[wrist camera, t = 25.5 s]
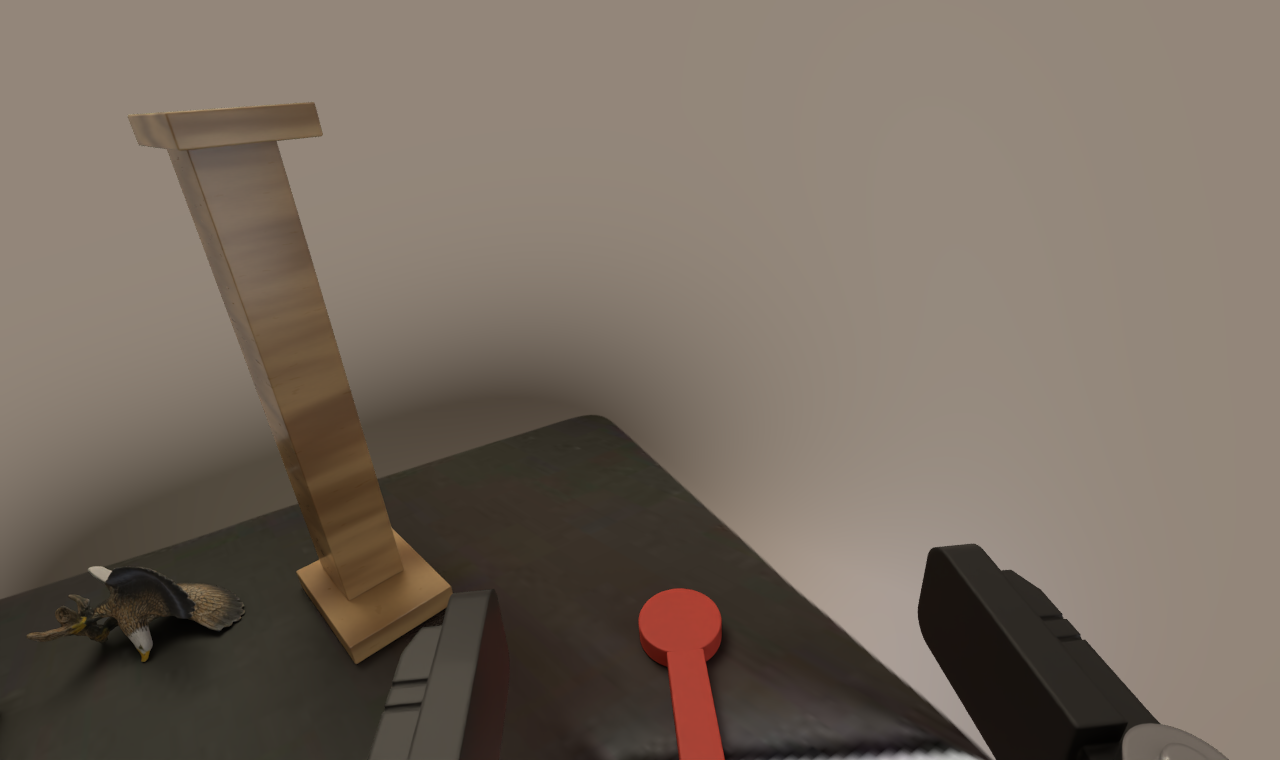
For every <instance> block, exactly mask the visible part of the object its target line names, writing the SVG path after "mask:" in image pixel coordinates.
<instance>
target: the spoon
mask: <svg viewBox="0 0 1280 760" xmlns="http://www.w3.org/2000/svg"><path fill="white" fill-rule="evenodd" d="M639 634H640V641H641V645H642V647H643V649H644V651H645V652H646V653H647V655H648V656H649V657H650V658H651V659H653V660H654V661H655V662H657V663H659V664H661V665H663V666H666V667H667V668H668V676H669V684H670V692H671V699H672V707H673V715H674V723H675V731H676V738H677V746H678V754H679V760H725V758H724V753H723V747H722V742H721V737H720V732H719V727H718V722H717V717H716V712H715V706H714V701H713V696H712V691H711V686H710V681H709V676H708V671H707V665H706V661H708V660H709V659H710V658H711V657H712V656H713V655H714V654H715V653H716V651H717V650H718V648H719V646H720V643H721V637H722V628H721V615H720V612H719V610H718V608H717V606H716V605H715V603H714V602H713V601H712V600H711V599H710V598H708V597H707V596H705V595H704V594H702V593H700V592H697V591H694V590H690V589H670V590H666V591H663V592H660V593H658V594H656V595H655V596H653V597H652V598H650V599H649V600H648V601H647V602H646V603H645V605H644V606H643V608H642V610H641V612H640V615H639Z"/></svg>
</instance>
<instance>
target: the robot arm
mask: <svg viewBox="0 0 1280 760" xmlns="http://www.w3.org/2000/svg"><path fill="white" fill-rule="evenodd" d="M918 620H919V625H920V629H921V632H922V635H923V638H924V640H925V642H926V644H927V645H928V647H929V649H930V650H931V652H932V654H933V655H934V657H935V659H936V660H937V662H938V663H939V665H940V667H941V669H942V670H943V672H944V674H945V675H946V677H947V679H948V680H949V682H950V684H951V685H952V687H953V689H954V690H955V692H956V694H957V695H958V697H959V698H960V700H961V702H962V703H963V705H964V707H965V709H966V710H967V712H968V714H969V715H970V717H971V718H972V720H973V722H974V724H975V725H976V727H977V729H978V730H979V732H980V733H981V735H982V737H983V739H984V740H985V742H986V744H987V745H988V747H989V748H990V750H991V752H992V754H993V755H994V757H995V758H996V760H1229V759H1227V758H1226V757H1225V756H1224V755H1223V754H1222V753H1220V752H1219V751H1218V750H1217V749H1215V748H1214V747H1212V746H1211V745H1209V744H1208V743H1206V742H1205V741H1203V740H1201V739H1199V738H1197V737H1196V736H1194V735H1192V734H1190V733H1187V732H1185V731H1183V730H1180V729H1177V728H1174V727H1171V726H1166V725H1162V724H1160V723H1159V722H1158V721H1157V720H1156V719H1155V718H1154V717H1153V716H1152V715H1151V713H1150V712H1149V711H1148V710H1147V709H1146V708H1145V707H1144V706H1143V704H1142V703H1141V702H1140V701H1139V700H1138V699H1137V698H1136V697H1135V695H1134V694H1133V693H1132V692H1131V691H1130V690H1129V689H1128V688H1127V686H1126V685H1125V684H1124V683H1123V682H1122V681H1121V680H1120V679H1119V677H1117V675H1116V674H1115V673H1114V672H1113V671H1112V670H1111V668H1110V667H1109V666H1108V665H1107V664H1106V663H1105V662H1104V660H1103V659H1102V658H1101V657H1100V656H1099V655H1098V654H1097V653H1096V651H1095V650H1094V649H1093V648H1092V647H1091V646H1090V645H1089V644H1088V642H1087V641H1086V640H1082V639H1081V637H1080V634H1079V632H1078V631H1077V630H1076V629H1075V628H1074V627H1073V626H1072V625H1071V623H1070V622H1069V621H1068V620H1067V619H1063V617H1062V613H1061V612H1060V611H1059V610H1058V609H1057V608H1056V607H1055V605H1054V604H1053V603H1052V602H1051V601H1050V600H1049V599H1048V597H1047V596H1046V595H1045V594H1044V593H1043V592H1042V591H1041V590H1040V589H1039V588H1037V587H1036V586H1034V585H1033V584H1031V583H1030V582H1028V581H1027V580H1025V579H1024V578H1022V577H1021V576H1019V575H1018V574H1017V573H1015V572H1014V571H1012V570H1003V571H1001V570H1000V569H999V568H998V567H997V565H996V564H995V563H994V562H993V561H992V560H991V558H990V557H989V556H988V555H987V554H986V552H985V551H984V550H983V549H982V548H981V547H979V546H978V545H976V544H965V545H955V546H945V547H935V548H932V549H931V550H930V552H929V553H928V557H927V563H926V568H925V573H924V578H923V583H922V588H921V594H920V599H919V604H918ZM509 673H510V667H509V652H508V646H507V641H506V636H505V631H504V626H503V622H502V617H501V612H500V607H499V603H498V598H497V594H496V592H495V590H494V589H492V590H482V591H471V592H461V593H453V594H452V595H451V596H450V598H449V601H448V605H447V609H446V612H445V616H444V620H443V624H442V625H441V626H431V627H421V629H420V630H419V631H418V633H417V634H416V635H415V636H414V638H413V639H412V640H411V642H410V643H409V644H408V646H407V647H406V648H405V649H404V651H403V652H402V653H401V656H400V659H399V663H398V666H397V669H396V672H395V675H394V678H393V681H392V688H390V691H389V694H388V697H387V700H386V703H385V711H384V712H382V716H381V719H380V722H379V725H378V728H377V731H376V734H375V737H374V740H373V744H372V747H371V750H370V753H369V756H368V759H367V760H499V758H500V750H501V743H502V735H503V727H504V719H505V711H506V703H507V696H508V688H509Z"/></svg>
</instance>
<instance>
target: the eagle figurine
mask: <svg viewBox="0 0 1280 760" xmlns="http://www.w3.org/2000/svg"><path fill="white" fill-rule="evenodd" d="M88 571H89V572H90V573H91V574H92V575H93V576H94V577H95V578H97V579H98V580H99V581H101V582H102V583H104V584H105V585H106V587H107V588H108V589H109V591H110V594H111V595H110V597H109V599H107V600H105V601H104V602H102V603H100V604H99V605H97V606H96V607H94V608H91V607H89V603H90V601H89V599H85V598H82V597H80V596H78V595H68V597H69V598H70V599H72V600H74V601H75V602H76V603H77V606H78V614H77V613H76V612H75V611H73V610H71V609H69V608H67V607H66V606H62V607H61V608H59V609H57V610H56V612H55V616H56V619H57V621H58V622H59V623H61V625H62V626H61V627H60V628H57V629H54V630H51V631H46V632H42V633H41V632H35V633H30V634H28V635H27V638H28V639H31V640H35V641H40V642H44V641H51V640H54V639H57V638H60V637H62V636H68V635H69V636H71V635H77V636H79V635H80V636H88V637H89V638H90V639H91V640H95V641H99V642H100V643H103V642H105V641H107V640H108V638H107V636H108V634H109V632H110V631H111V630H112V629H114V628H115V627H116V626H118V625H119V626H120V628H121V629H122V631H123V633H124V634H125V635H126V636H127V637H128V638H129V639H130V640H131V641H132V643H133V644H134V645H135V647H136V648H137V650H138V651H139V652H140V654H141V656H142V660H141V662H145V661H146V660H147V659H148V657H149V652H150V650H151V648H152V646H153V641H152V638H151V635H150V631H149V623H150V622H151V621H152V620H154V619H156V618H159V617H161V616H163V617H167V616H175V617H177V618H182V619H189V620H194V621H195V622H197V623H199V624H201V625H203V626H206V627H207V628H209V629H212V630H215V631H221V630H222V628H224V627H229V626H231V625H232V623H233V622H235V621H238V620H240V619H241V615H243V614H244V613H245V611H244V610H243V609H242V607H243V606H244V604H243V603H241V602H239V601H238V600H240V599H239V597H236V596H235V593H232V592H231V591H230V590H226V589H225V588H222V587H218V586H217V585H208V584H203V583H197V584H196V583H178V584H175V583H174V581H173V580H171V579H168V578H167V577H166V576H165V575H162V574H161V573H159V572H156V571H155V570H151V569H149V568H145V567H137V566H130V567H129V566H127V567H126V566H124V567H118V568H115V569H114V570H113V571H110V570H107V569H106V568H104V567H101V566H99V567H95V566H94V567H91V568H89V569H88ZM103 617H109V618H108V619H107V620H106V621H105V622H104V625H97V623H96V621H97V620H99V619H101V618H103Z"/></svg>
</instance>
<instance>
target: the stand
mask: <svg viewBox="0 0 1280 760" xmlns="http://www.w3.org/2000/svg"><path fill="white" fill-rule="evenodd" d="M128 119H129V121H130V124H131V126H132V129H133V132H134V134H135V137H136V139H137V142H138V144H139V145H142V146H148V147H155V148H164V149H167V151H168V153H169V156H170V159H171V161H172V164H173V167H174V169H175V172H176V175H177V177H178V180H179V183H180V186H181V188H182V191H183V194H184V196H185V199H186V202H187V204H188V207H189V210H190V212H191V215H192V218H193V220H194V223H195V226H196V229H197V231H198V234H199V237H200V239H201V242H202V245H203V247H204V250H205V253H206V256H207V258H208V261H209V264H210V266H211V269H212V272H213V274H214V277H215V280H216V283H217V285H218V288H219V291H220V293H221V296H222V299H223V301H224V304H225V307H226V309H227V312H228V315H229V317H230V320H231V323H232V326H233V328H234V331H235V333H236V336H237V339H238V342H239V344H240V347H241V350H242V352H243V355H244V358H245V361H246V363H247V366H248V369H249V371H250V374H251V377H252V379H253V382H254V385H255V387H256V390H257V393H258V395H259V398H260V401H261V404H262V406H263V409H264V412H265V414H266V417H267V420H268V422H269V425H270V428H271V431H272V433H273V436H274V439H275V441H276V444H277V447H278V449H279V452H280V455H281V458H282V460H283V463H284V466H285V468H286V471H287V474H288V476H289V479H290V482H291V484H292V487H293V490H294V492H295V495H296V498H297V501H298V503H299V506H300V509H301V511H302V514H303V517H304V519H305V522H306V525H307V528H308V530H309V533H310V536H311V538H312V541H313V544H314V546H315V549H316V552H317V554H318V557H319V560H318V561H316V562H314V563H312V564H310V565H308V566H306V567H304V568H302V569H300V570H298V571H296V573H297V575H298V578H299V580H300V583H301V586H302V587H303V589H304V590H305V592H306V593H307V595H308V596H309V598H310V599H311V600H312V602H313V603H314V605H315V606H316V608H317V609H318V611H319V612H320V613H321V615H322V616H323V618H324V619H325V621H326V622H327V624H328V625H329V626H330V628H331V629H332V631H333V632H334V634H335V635H336V637H337V638H338V639H339V641H340V642H341V644H342V645H343V647H344V648H345V650H346V651H347V653H348V654H349V655H350V657H351V658H352V660H353V661H354V663H355V664H358V663H359V662H361V661H362V660H364V659H366V658H367V657H369V656H370V655H372V654H374V653H375V652H377V651H378V650H380V649H382V648H383V647H385V646H386V645H388V644H389V643H391V642H393V641H394V640H396V639H397V638H399V637H401V636H402V635H404V634H405V633H407V632H408V631H410V630H412V629H413V628H415V627H416V626H418V625H420V624H421V623H423V622H424V621H426V620H427V619H429V618H431V617H432V616H434V615H435V614H437V613H439V612H440V611H442V610H443V609H445V608H447V605H448V601H449V598H450V596H451V595H452V594H453V592H452V589H451V586H450V585H449V584H448V583H447V582H446V581H445V580H444V579H443V578H442V577H441V576H440V575H439V574H438V573H437V572H436V571H435V570H434V569H433V568H432V567H431V566H430V565H429V564H428V563H427V562H426V561H425V560H424V559H423V558H422V557H421V556H420V555H419V554H418V553H417V552H416V551H415V550H414V549H413V548H412V547H411V546H410V545H408V544H407V543H406V542H405V541H404V540H403V539H402V538H401V537H400V536H399V535H398V534H397V533H396V532H395V531H394V530H393V529H392V528H391V524H390V521H389V518H388V514H387V511H386V507H385V504H384V501H383V497H382V494H381V491H380V487H379V484H378V481H377V477H376V474H375V471H374V467H373V464H372V460H371V457H370V454H369V451H368V447H367V444H366V440H365V437H364V434H363V430H362V427H361V423H360V420H359V417H358V413H357V410H356V407H355V404H354V400H353V397H352V394H351V390H350V387H349V383H348V380H347V376H346V373H345V370H344V366H343V363H342V360H341V356H340V353H339V350H338V346H337V343H336V340H335V336H334V333H333V329H332V326H331V323H330V320H329V316H328V313H327V309H326V306H325V303H324V300H323V296H322V292H321V289H320V286H319V282H318V279H317V276H316V272H315V269H314V266H313V262H312V259H311V255H310V252H309V249H308V245H307V242H306V239H305V236H304V232H303V229H302V225H301V222H300V219H299V215H298V212H297V209H296V205H295V202H294V198H293V195H292V192H291V188H290V185H289V182H288V178H287V175H286V172H285V168H284V165H283V161H282V158H281V155H280V151H279V148H278V145H277V141H280V140H289V139H300V138H308V137H317V136H318V137H319V136H322V135H323V133H322V129H321V125H320V122H319V118H318V114H317V110H316V107H315V104H314V103H313V102H306V103H292V104H275V105H261V106H246V107H233V108H232V107H231V108H217V109H205V110H204V109H203V110H190V111H175V112H160V113H146V114H132V115H128Z"/></svg>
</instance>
